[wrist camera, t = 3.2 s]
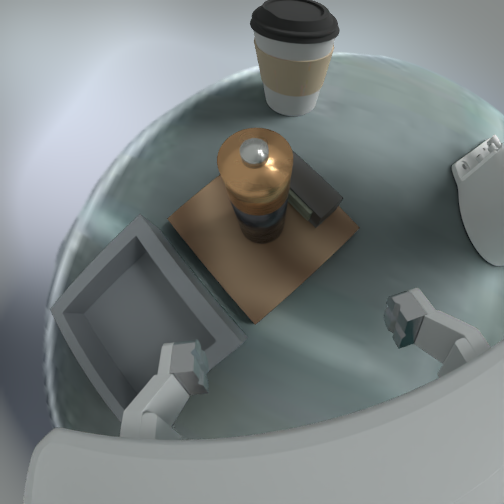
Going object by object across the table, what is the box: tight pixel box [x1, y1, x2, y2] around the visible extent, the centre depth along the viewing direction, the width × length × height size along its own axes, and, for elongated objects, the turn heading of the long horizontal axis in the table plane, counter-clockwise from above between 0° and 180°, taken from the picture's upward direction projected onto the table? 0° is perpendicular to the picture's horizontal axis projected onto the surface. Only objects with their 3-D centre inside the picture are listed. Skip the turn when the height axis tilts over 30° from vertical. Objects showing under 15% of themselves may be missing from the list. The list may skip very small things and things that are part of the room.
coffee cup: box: [250, 0, 339, 116], centre depth 24 cm, size 9×9×15 cm
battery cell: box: [217, 128, 293, 244], centre depth 21 cm, size 4×4×13 cm
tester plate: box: [167, 151, 359, 325], centre depth 26 cm, size 14×14×4 cm
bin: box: [50, 214, 248, 423], centre depth 24 cm, size 15×15×5 cm
